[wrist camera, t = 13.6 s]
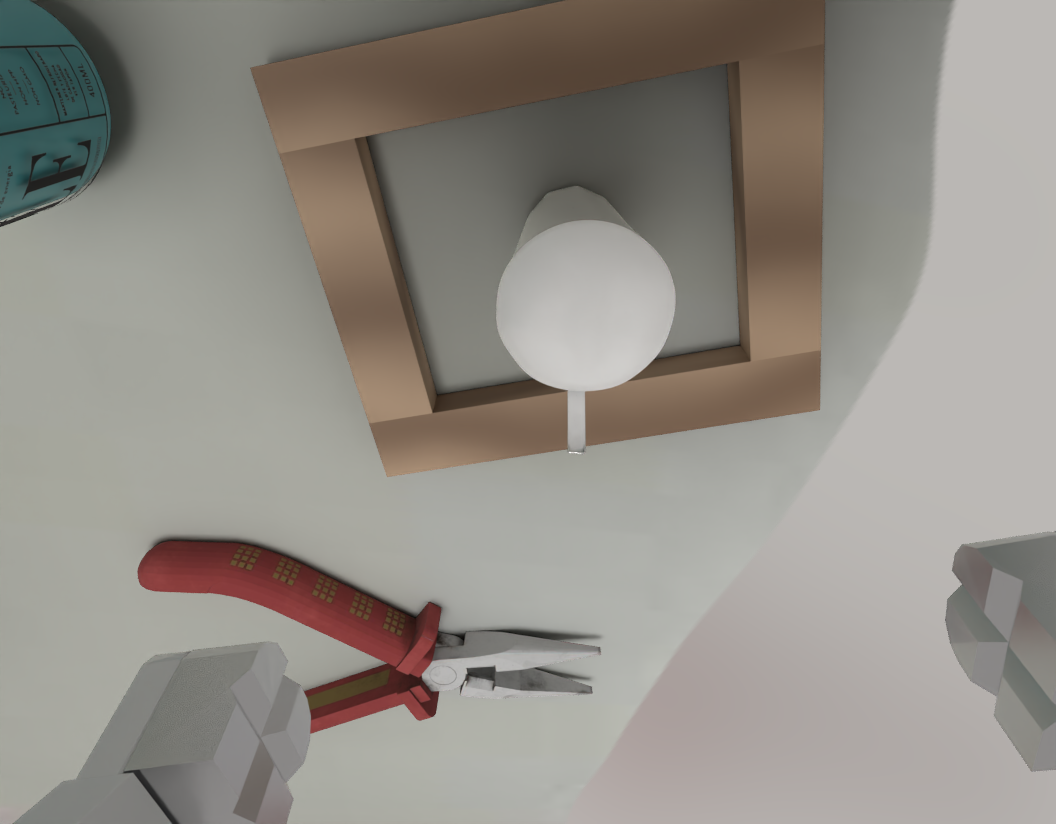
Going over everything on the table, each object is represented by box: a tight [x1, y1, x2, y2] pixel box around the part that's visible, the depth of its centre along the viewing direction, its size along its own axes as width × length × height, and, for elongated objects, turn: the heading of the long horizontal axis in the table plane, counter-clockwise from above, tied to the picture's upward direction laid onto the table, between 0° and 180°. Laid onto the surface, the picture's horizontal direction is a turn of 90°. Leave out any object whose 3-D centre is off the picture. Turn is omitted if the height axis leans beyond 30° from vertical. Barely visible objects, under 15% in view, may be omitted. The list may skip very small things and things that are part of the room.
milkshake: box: [496, 185, 676, 454], centre depth 21 cm, size 4×5×10 cm
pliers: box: [138, 541, 601, 734], centre depth 34 cm, size 12×21×3 cm, turn 85°
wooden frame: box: [250, 0, 825, 477], centre depth 25 cm, size 15×17×2 cm
